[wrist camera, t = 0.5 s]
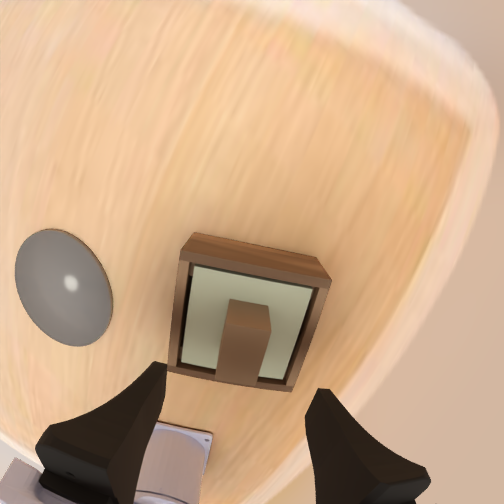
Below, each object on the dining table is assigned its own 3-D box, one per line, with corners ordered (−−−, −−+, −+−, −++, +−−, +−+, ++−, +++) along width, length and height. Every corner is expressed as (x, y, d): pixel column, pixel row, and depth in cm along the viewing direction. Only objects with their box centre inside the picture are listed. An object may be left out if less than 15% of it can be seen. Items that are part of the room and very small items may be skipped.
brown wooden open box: (285, 357, 24) (291, 392, 20) (179, 337, 24) (167, 371, 19) (316, 257, 22) (331, 280, 18) (194, 232, 21) (180, 250, 17)
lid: (281, 374, 21) (286, 408, 17) (182, 356, 20) (172, 389, 17) (310, 285, 19) (323, 312, 15) (196, 262, 18) (184, 285, 15)
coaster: (113, 356, 24) (111, 360, 24) (24, 324, 24) (21, 326, 23) (115, 242, 21) (112, 244, 21) (16, 219, 21) (12, 221, 20)
